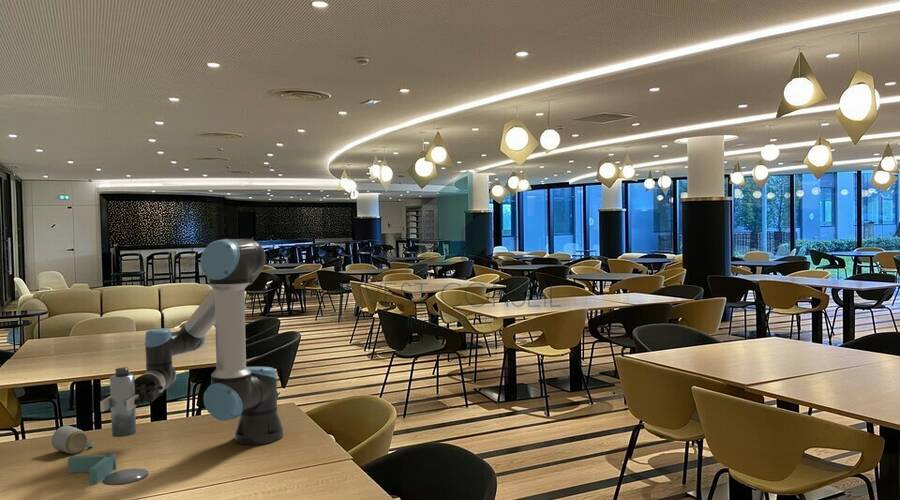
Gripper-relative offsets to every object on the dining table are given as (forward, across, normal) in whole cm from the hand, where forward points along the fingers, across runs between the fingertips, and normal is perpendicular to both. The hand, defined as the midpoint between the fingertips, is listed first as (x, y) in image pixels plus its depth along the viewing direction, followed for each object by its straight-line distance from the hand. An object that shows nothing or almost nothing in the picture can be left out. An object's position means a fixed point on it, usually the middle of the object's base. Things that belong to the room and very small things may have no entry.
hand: (115, 406), depth 175 cm
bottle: (-5, 0, -9) cm, 10 cm away
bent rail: (-7, +11, -21) cm, 25 cm away
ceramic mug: (-31, +25, -21) cm, 45 cm away
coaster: (-5, 0, -21) cm, 22 cm away
